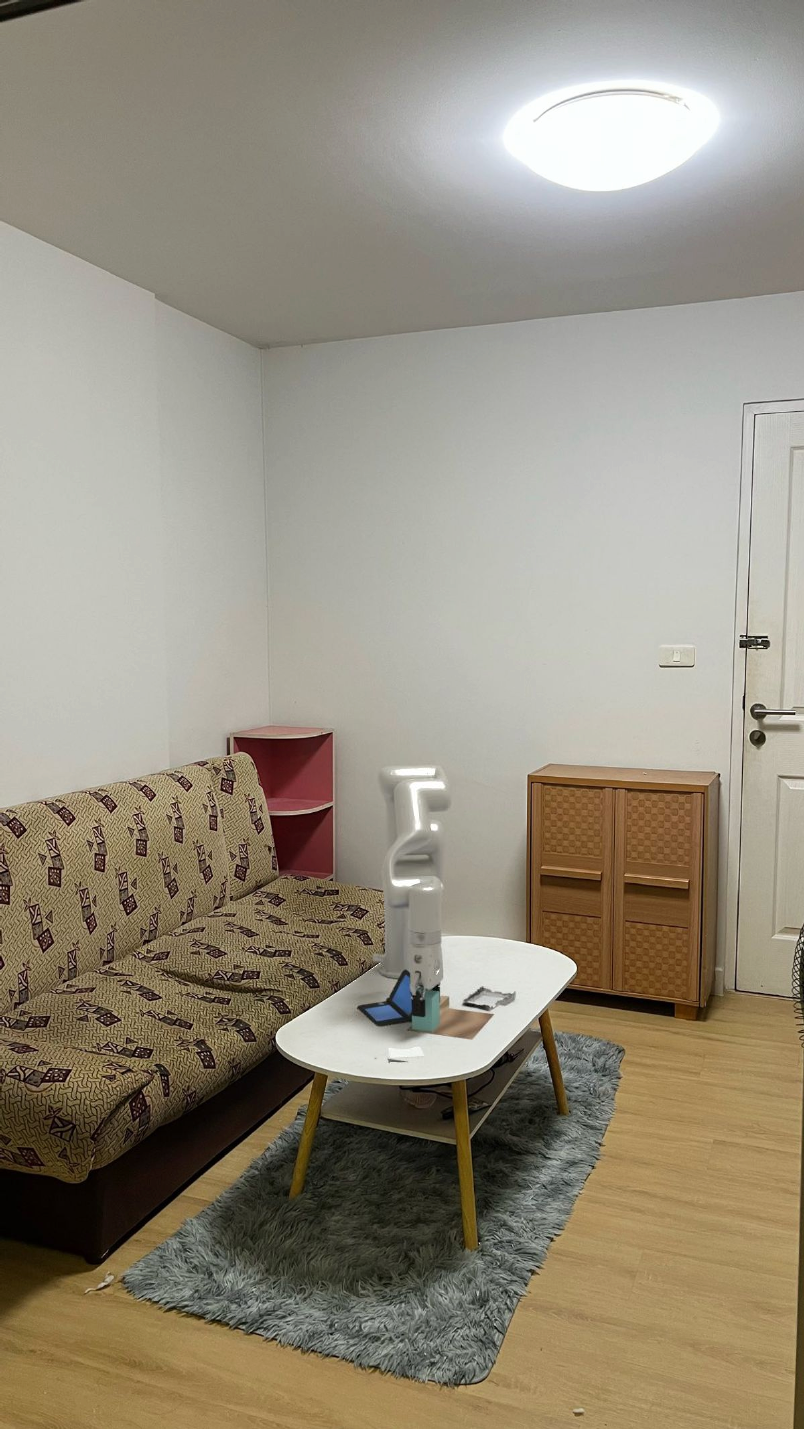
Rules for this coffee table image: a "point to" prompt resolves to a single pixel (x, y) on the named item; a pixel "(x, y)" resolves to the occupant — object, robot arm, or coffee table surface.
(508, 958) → the coffee table surface
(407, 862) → the robot arm
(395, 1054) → the external hard drive
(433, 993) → the teal block
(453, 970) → the coffee table surface
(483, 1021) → the walnut board
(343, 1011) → the coffee table surface
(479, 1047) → the coffee table surface
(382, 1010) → the handheld game console
